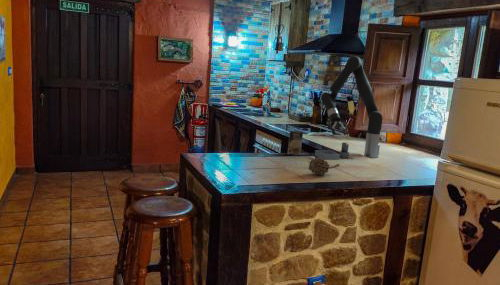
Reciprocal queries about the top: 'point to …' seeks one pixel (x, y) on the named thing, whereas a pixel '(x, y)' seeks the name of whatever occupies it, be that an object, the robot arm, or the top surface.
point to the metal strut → (344, 150)
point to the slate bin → (327, 155)
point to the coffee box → (295, 142)
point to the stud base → (346, 158)
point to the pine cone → (320, 166)
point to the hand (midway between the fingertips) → (340, 134)
